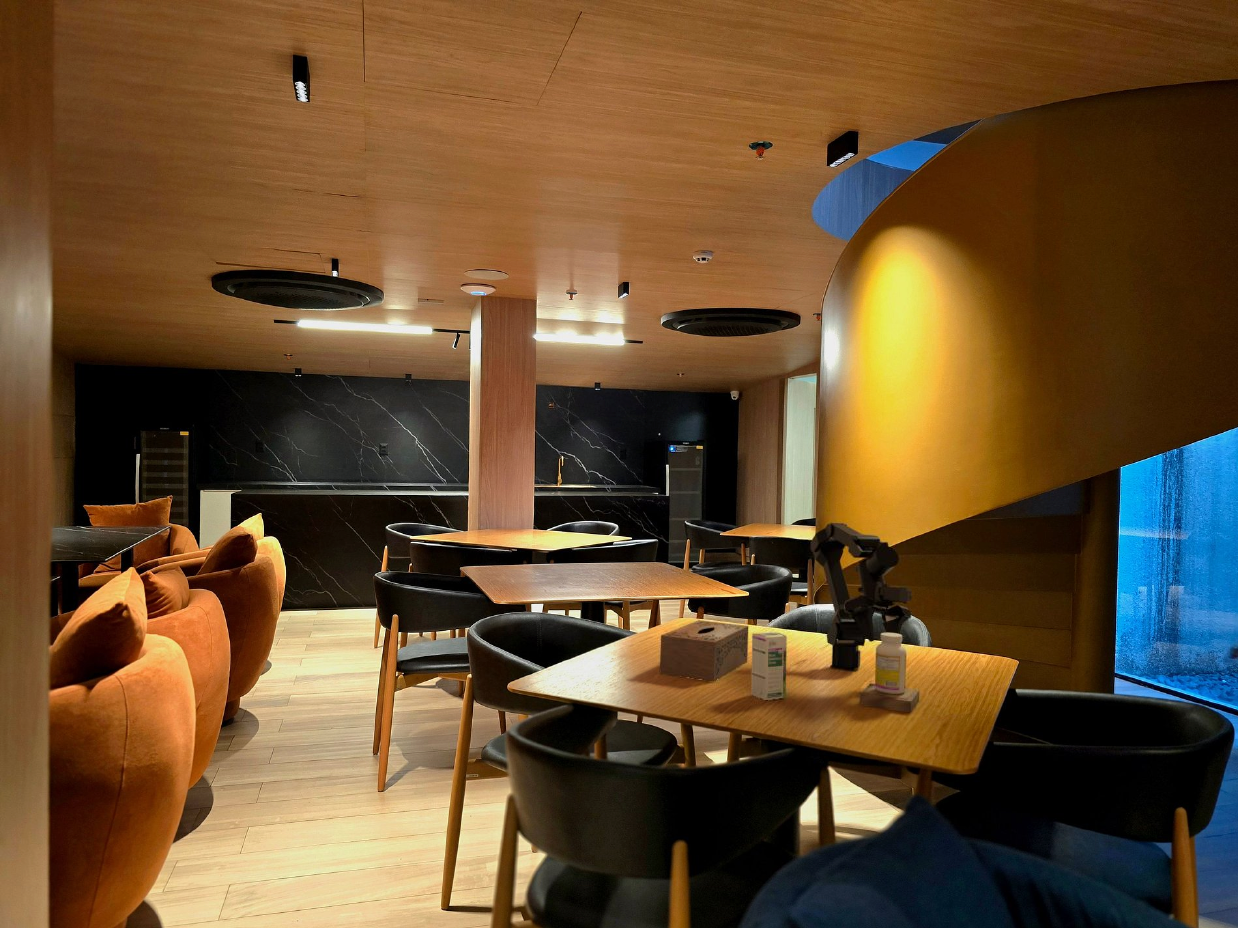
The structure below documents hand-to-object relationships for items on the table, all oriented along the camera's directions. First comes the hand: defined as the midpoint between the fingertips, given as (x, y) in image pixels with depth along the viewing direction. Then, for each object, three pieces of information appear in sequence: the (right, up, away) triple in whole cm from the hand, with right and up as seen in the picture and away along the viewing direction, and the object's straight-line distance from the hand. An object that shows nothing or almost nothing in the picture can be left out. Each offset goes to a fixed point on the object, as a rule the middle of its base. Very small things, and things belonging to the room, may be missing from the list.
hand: (884, 644), depth 203 cm
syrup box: (-30, -10, -9) cm, 33 cm away
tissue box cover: (-41, -10, +18) cm, 46 cm away
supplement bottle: (-2, -8, -11) cm, 14 cm away
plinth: (-2, -11, -11) cm, 16 cm away
